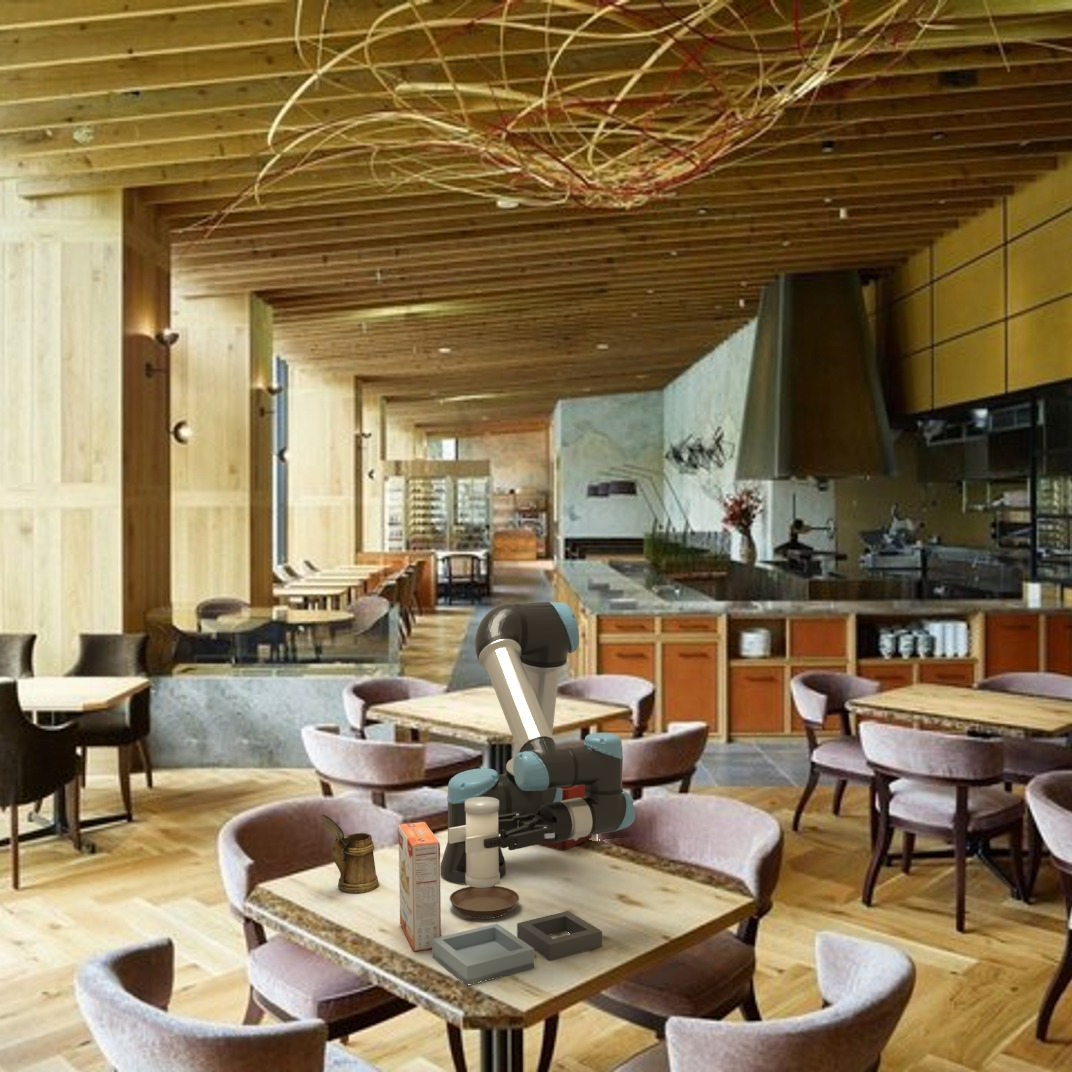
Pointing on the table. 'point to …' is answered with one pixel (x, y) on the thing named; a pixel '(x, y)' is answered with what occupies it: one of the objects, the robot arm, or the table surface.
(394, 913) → the table surface
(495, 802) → the cylinder
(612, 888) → the table surface
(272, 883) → the table surface
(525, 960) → the tray
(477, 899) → the saucer
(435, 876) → the cracker box
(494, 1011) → the table surface
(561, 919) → the dark grey square frame
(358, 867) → the wooden mug
